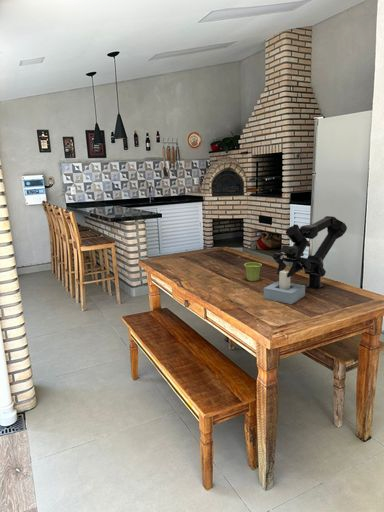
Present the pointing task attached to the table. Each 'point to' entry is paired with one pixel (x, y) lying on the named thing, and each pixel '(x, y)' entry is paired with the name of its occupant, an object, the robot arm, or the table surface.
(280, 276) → the post
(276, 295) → the grey thick square frame
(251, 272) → the plant pot
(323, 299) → the table surface
